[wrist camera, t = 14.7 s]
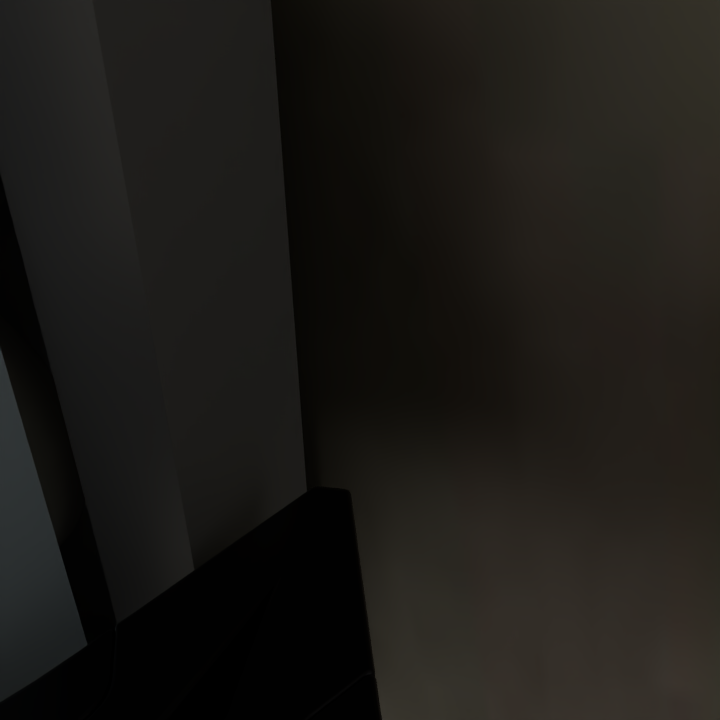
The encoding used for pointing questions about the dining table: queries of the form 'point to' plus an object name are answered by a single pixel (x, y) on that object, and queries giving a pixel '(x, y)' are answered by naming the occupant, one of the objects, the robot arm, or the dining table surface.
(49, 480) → the cream disc
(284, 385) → the tray
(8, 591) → the box
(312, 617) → the robot arm
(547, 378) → the dining table surface
